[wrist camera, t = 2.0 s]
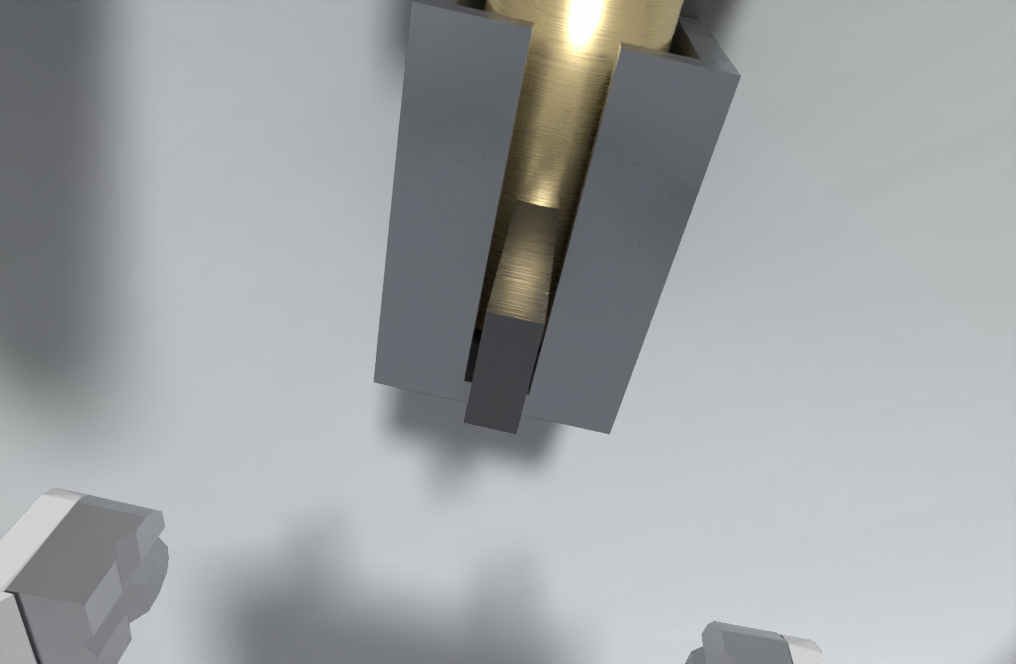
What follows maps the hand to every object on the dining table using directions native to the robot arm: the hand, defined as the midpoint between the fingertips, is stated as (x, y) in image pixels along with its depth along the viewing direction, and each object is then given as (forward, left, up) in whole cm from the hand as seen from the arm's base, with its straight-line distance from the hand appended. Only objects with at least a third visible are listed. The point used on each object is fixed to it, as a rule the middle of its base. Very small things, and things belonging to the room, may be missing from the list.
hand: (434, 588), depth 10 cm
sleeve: (0, -1, -17) cm, 17 cm away
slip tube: (0, -3, -16) cm, 16 cm away
